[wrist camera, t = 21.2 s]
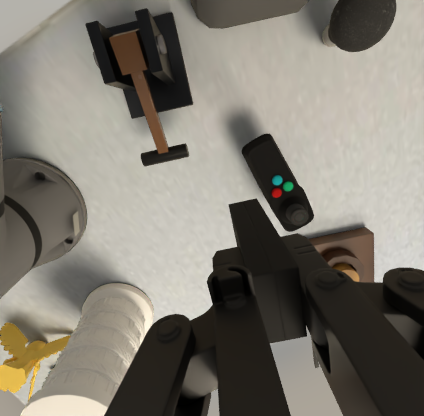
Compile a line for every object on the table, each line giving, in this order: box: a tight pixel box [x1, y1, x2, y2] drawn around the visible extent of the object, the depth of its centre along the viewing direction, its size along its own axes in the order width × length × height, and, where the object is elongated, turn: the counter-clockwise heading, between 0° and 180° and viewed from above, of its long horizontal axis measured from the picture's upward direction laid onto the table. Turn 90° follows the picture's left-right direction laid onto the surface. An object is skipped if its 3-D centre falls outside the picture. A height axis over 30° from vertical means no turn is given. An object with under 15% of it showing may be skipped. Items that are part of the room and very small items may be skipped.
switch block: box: [308, 227, 374, 282], centre depth 42 cm, size 12×10×4 cm
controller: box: [242, 134, 314, 232], centre depth 34 cm, size 4×12×10 cm, turn 31°
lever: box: [109, 29, 189, 166], centre depth 26 cm, size 12×5×2 cm, turn 12°
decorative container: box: [20, 283, 154, 416], centre depth 37 cm, size 12×12×18 cm
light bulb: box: [322, 0, 396, 52], centre depth 28 cm, size 6×6×10 cm
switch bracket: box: [86, 8, 193, 119], centre depth 28 cm, size 10×8×13 cm
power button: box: [331, 263, 359, 282], centre depth 40 cm, size 4×4×2 cm
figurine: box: [0, 323, 71, 401], centre depth 44 cm, size 12×12×9 cm
